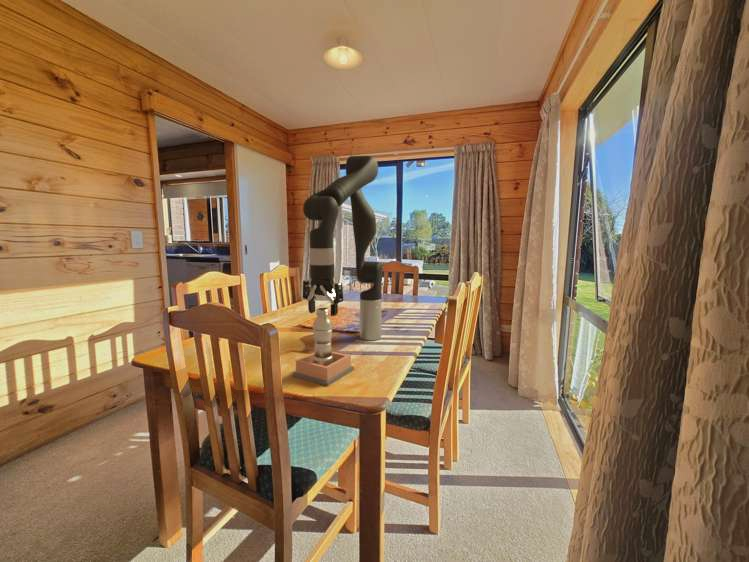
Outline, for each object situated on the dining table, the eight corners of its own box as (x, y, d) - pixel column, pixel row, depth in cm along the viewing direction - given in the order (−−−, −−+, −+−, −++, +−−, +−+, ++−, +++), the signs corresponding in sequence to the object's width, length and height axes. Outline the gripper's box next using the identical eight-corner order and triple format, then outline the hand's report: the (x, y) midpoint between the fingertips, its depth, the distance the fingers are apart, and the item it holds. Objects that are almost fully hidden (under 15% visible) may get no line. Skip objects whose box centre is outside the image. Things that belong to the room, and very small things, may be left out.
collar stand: (320, 361, 116) (320, 347, 116) (354, 369, 110) (354, 355, 109) (292, 376, 104) (292, 360, 104) (328, 386, 98) (327, 369, 97)
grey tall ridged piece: (308, 371, 105) (307, 310, 103) (321, 364, 111) (320, 306, 109) (325, 375, 103) (324, 312, 100) (337, 367, 109) (336, 308, 106)
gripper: (347, 263, 102) (348, 314, 104) (312, 261, 109) (313, 309, 111) (333, 265, 95) (333, 319, 98) (296, 262, 102) (297, 313, 105)
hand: (322, 314), depth 104 cm, fingers open, 8 cm apart
